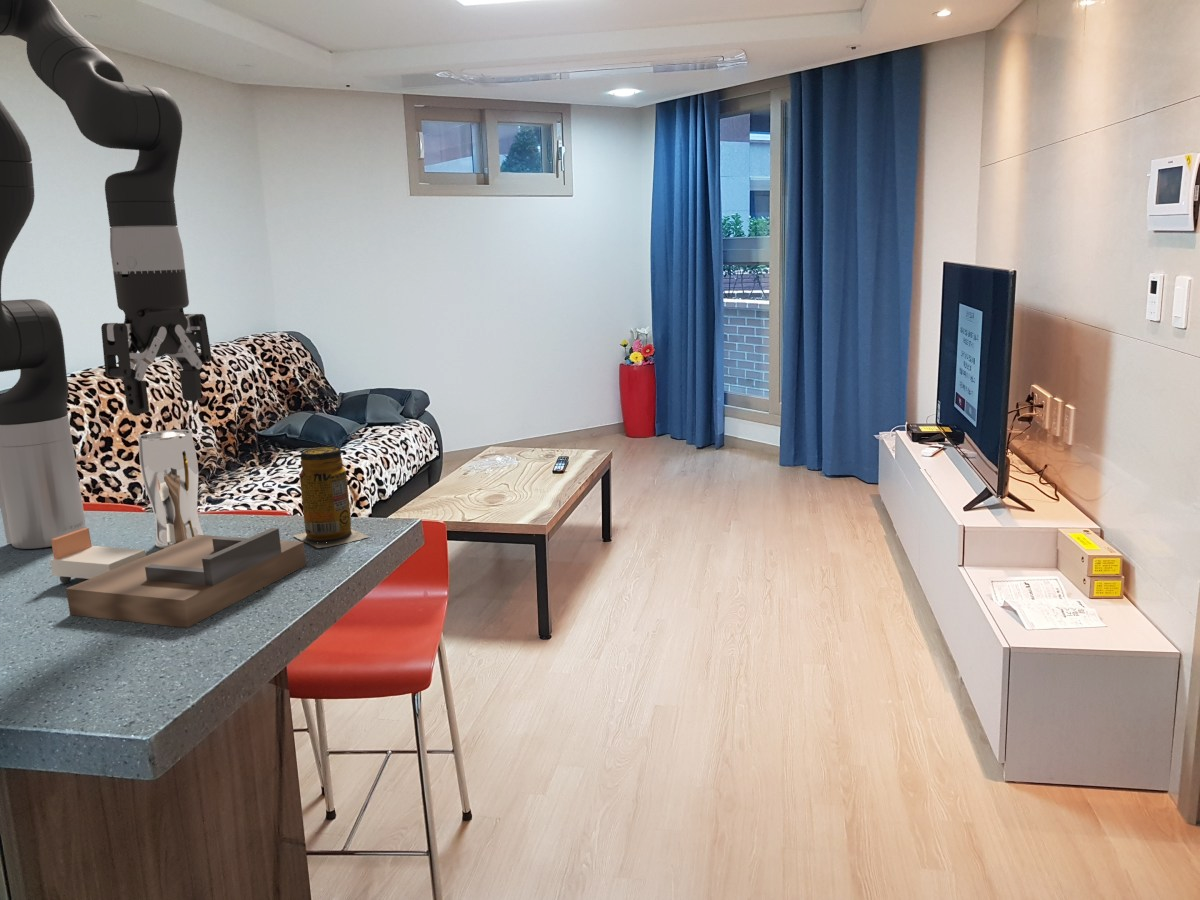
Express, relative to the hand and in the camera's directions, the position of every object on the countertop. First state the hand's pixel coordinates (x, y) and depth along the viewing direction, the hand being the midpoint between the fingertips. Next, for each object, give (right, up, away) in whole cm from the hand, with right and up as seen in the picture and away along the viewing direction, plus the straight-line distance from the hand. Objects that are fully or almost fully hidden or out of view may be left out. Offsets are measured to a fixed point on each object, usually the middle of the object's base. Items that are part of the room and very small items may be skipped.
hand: (166, 406), depth 111 cm
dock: (+4, -21, -2) cm, 22 cm away
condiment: (+15, -17, +16) cm, 28 cm away
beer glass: (-6, -18, +17) cm, 25 cm away
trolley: (-9, -21, +2) cm, 23 cm away
